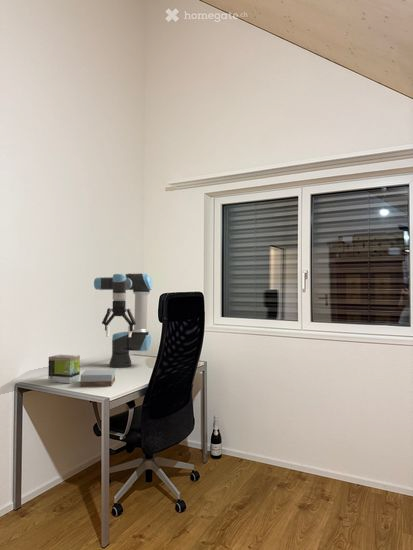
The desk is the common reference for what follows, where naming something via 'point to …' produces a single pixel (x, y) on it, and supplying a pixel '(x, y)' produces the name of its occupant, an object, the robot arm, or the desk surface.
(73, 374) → the tea box
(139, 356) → the desk surface
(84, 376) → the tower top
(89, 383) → the tower base
